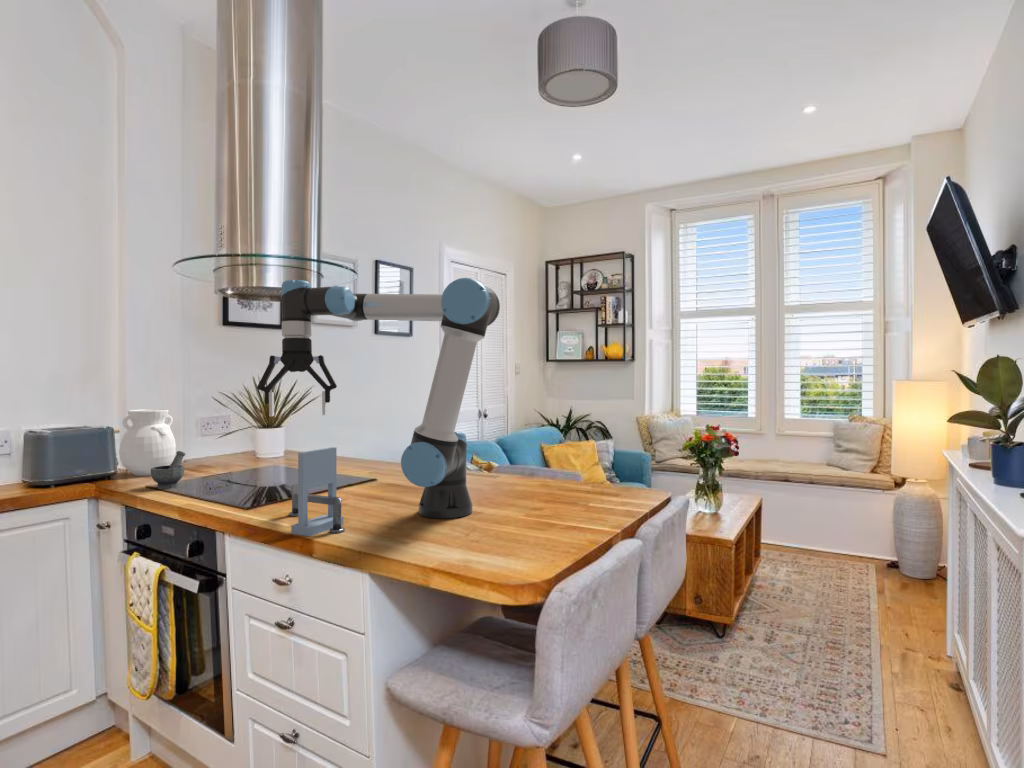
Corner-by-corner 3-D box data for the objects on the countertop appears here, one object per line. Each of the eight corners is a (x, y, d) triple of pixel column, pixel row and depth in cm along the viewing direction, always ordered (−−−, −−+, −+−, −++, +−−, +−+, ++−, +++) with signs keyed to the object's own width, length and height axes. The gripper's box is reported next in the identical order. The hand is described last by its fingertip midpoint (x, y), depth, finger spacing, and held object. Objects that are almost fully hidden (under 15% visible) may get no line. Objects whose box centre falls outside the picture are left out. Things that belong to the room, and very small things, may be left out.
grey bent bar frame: (347, 531, 140) (347, 497, 140) (318, 537, 135) (318, 502, 135) (299, 512, 159) (299, 482, 159) (272, 517, 154) (272, 486, 154)
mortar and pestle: (164, 491, 188) (163, 455, 187) (144, 488, 191) (144, 453, 191) (194, 485, 198) (193, 451, 198) (174, 483, 201) (174, 449, 201)
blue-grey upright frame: (343, 524, 147) (343, 447, 147) (310, 536, 136) (310, 453, 136) (325, 522, 149) (325, 446, 149) (291, 533, 138) (291, 452, 138)
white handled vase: (163, 468, 232) (163, 407, 232) (184, 473, 222) (184, 409, 221) (111, 474, 217) (110, 410, 217) (131, 480, 207) (131, 412, 206)
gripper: (345, 338, 160) (346, 413, 160) (251, 338, 155) (252, 415, 155) (343, 336, 153) (344, 415, 153) (244, 336, 148) (245, 417, 148)
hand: (298, 415), depth 154 cm, fingers open, 13 cm apart
